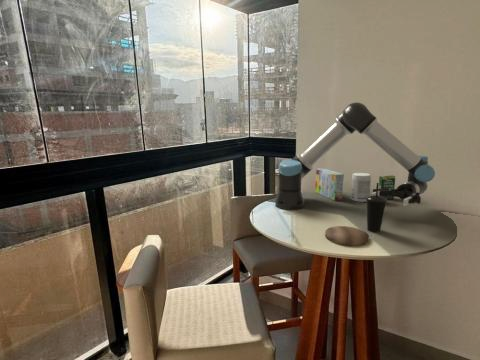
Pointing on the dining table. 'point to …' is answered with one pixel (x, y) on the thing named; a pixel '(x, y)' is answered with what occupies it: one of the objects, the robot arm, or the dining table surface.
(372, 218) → the drinking cup
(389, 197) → the coffee box
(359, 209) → the dining table surface
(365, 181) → the supplement tub
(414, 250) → the dining table surface
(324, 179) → the snack box
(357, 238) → the coaster board
